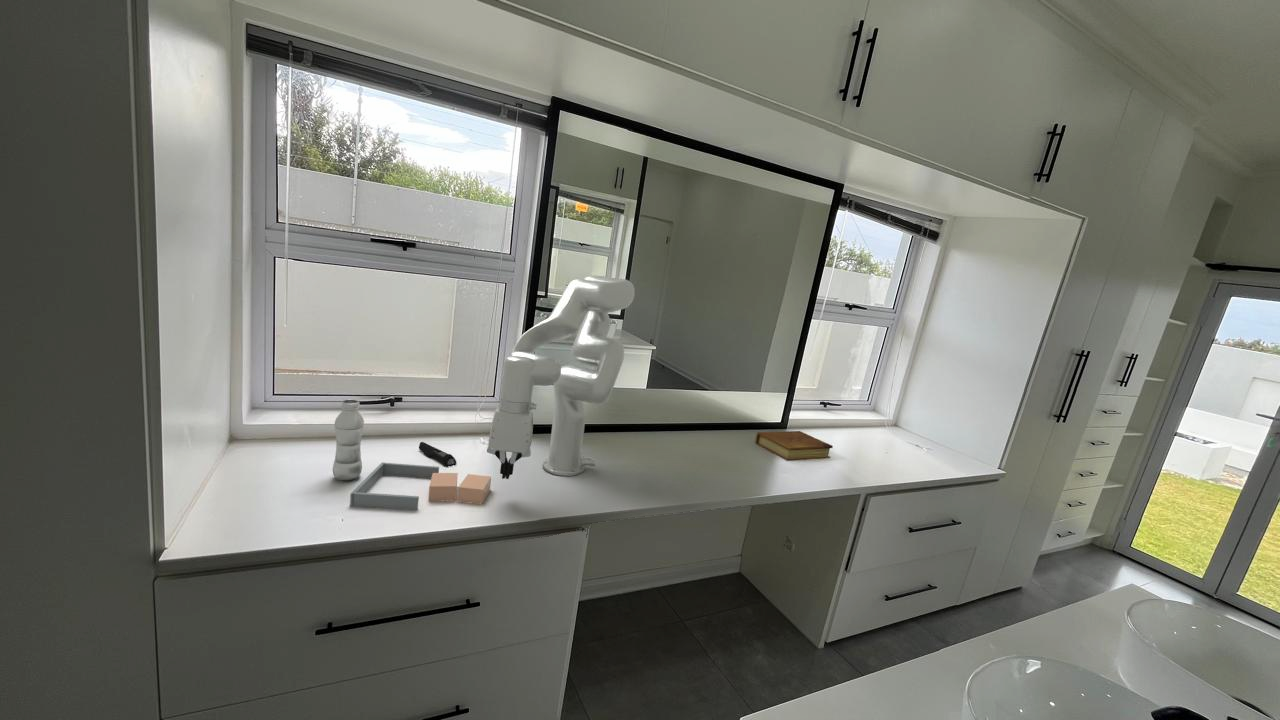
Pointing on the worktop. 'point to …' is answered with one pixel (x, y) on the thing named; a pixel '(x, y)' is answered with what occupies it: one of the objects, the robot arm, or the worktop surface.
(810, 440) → the diary
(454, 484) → the tile
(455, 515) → the worktop surface
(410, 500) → the organizer bay
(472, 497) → the tile
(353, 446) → the plastic bottle
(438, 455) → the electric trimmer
